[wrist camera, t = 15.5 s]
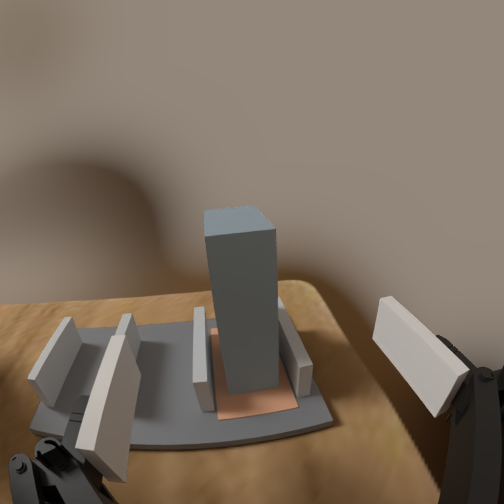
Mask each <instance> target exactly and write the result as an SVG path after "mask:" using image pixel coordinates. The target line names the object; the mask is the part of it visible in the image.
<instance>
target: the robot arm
mask: <svg viewBox="0 0 504 504" xmlns="http://www.w3.org/2000/svg"><path fill="white" fill-rule="evenodd" d="M372 339H373V340H374V341H375V342H376V344H377V345H378V346H379V347H380V349H381V350H382V351H383V352H384V354H385V355H386V356H387V357H388V358H389V360H390V361H391V362H392V363H393V365H394V366H395V367H396V368H397V370H398V371H399V372H400V373H401V375H402V376H403V377H404V379H405V380H406V381H407V382H408V384H409V385H410V386H411V387H412V389H413V390H414V391H415V393H416V394H417V395H418V396H419V398H420V399H421V400H422V402H423V403H424V404H425V406H426V407H427V408H428V409H429V411H430V412H431V413H432V415H433V416H434V417H437V416H439V415H440V414H442V413H444V412H445V411H446V410H447V409H448V407H449V406H450V404H451V403H452V404H453V405H454V408H453V409H452V411H451V412H450V414H449V415H448V417H447V419H446V422H448V420H449V419H450V417H451V416H452V419H451V421H450V422H451V432H450V441H449V449H448V456H447V463H446V469H445V475H444V480H443V484H442V489H441V493H440V498H439V502H438V504H497V503H498V496H499V488H500V499H501V504H504V366H503V368H502V369H500V370H497V371H492V370H491V369H489V368H486V367H479V368H476V367H475V366H474V365H473V364H472V363H471V362H470V361H469V360H468V359H467V358H466V357H465V356H464V355H463V354H462V353H461V352H460V351H458V349H457V348H456V347H455V346H454V347H453V345H452V344H451V343H450V342H449V341H448V340H447V339H445V338H443V337H441V336H440V335H437V336H435V335H434V334H433V333H431V332H430V331H429V330H428V329H427V328H426V327H425V326H424V325H423V324H422V323H421V322H420V321H419V320H417V319H416V318H415V317H414V316H413V315H412V314H411V313H410V312H409V311H408V310H407V309H405V308H404V307H403V306H402V305H401V304H400V303H398V302H397V301H396V300H395V299H394V298H393V297H392V296H389V297H385V298H380V302H379V308H378V313H377V318H376V324H375V328H374V333H373V338H372ZM140 379H141V373H140V371H139V368H138V366H137V363H136V361H135V358H134V356H133V353H132V351H131V348H130V345H129V343H128V340H127V337H126V335H116V336H112V337H111V339H110V342H109V344H108V347H107V349H106V352H105V355H104V357H103V360H102V363H101V365H100V368H99V371H98V374H97V377H96V380H95V382H94V385H93V388H92V391H91V394H90V396H89V395H81V396H80V397H79V398H78V399H77V400H76V402H75V403H74V405H73V408H72V411H71V414H70V417H69V422H68V423H67V426H66V429H65V433H64V436H63V439H62V443H61V442H60V441H59V440H57V439H55V438H52V437H47V438H43V439H42V440H40V441H39V442H38V443H37V445H36V446H35V451H34V454H35V458H36V459H37V460H31V459H30V458H29V457H28V456H26V455H24V454H16V455H14V456H13V457H12V458H11V459H10V461H9V466H8V469H9V478H10V486H11V493H12V499H13V504H118V502H117V501H116V500H115V499H114V497H113V496H112V495H111V493H110V492H109V491H108V489H107V488H106V487H105V485H104V484H103V483H102V477H103V476H104V477H105V478H106V479H107V480H108V481H113V482H121V483H126V476H127V466H128V457H129V449H130V441H131V433H132V426H133V420H134V413H135V407H136V401H137V395H138V390H139V384H140Z"/></svg>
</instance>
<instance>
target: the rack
mask: <svg viewBox="0 0 504 504" xmlns="http://www.w3.org/2000/svg"><path fill="white" fill-rule="evenodd" d="M116 335H126V337H127V340H128V343H129V345H130V348H131V351H132V353H133V356H134V358H135V361H136V363H137V366H138V368H139V371H140V373H141V379H140V384H139V390H138V395H137V401H136V407H135V413H134V420H133V426H132V433H131V441H130V449H147V450H181V449H202V448H216V447H226V446H235V445H243V444H250V443H257V442H263V441H269V440H274V439H279V438H284V437H289V436H294V435H298V434H303V433H307V432H311V431H315V430H319V429H322V428H326V427H330V426H332V424H333V418H332V416H331V414H330V412H329V410H328V408H327V406H326V403H325V401H324V399H323V397H322V395H321V393H320V391H319V388H318V386H317V384H316V382H315V380H314V378H313V376H312V370H313V363H312V361H311V359H310V357H309V355H308V353H307V351H306V349H305V347H304V345H303V343H302V341H301V339H300V337H299V335H298V333H297V331H296V329H295V327H294V325H293V323H292V321H291V319H290V317H289V315H288V313H287V311H286V309H285V307H284V305H283V303H282V301H281V299H280V297H278V340H279V388H273V389H268V390H262V391H256V392H250V393H243V394H236V395H229V393H228V388H227V382H226V377H225V371H224V365H223V360H222V354H221V348H220V342H219V335H218V329H217V323H216V318H214V319H206V313H205V307H196V308H194V321H186V322H175V323H164V324H151V325H137V326H136V324H135V321H134V317H133V314H132V313H130V314H123V316H122V318H121V321H120V323H119V326H118V327H102V328H78V329H77V328H76V326H75V323H74V321H73V318H72V317H65V318H64V319H63V321H62V322H61V324H60V325H59V327H58V328H57V330H56V331H55V333H54V334H53V336H52V337H51V339H50V341H49V342H48V344H47V345H46V347H45V349H44V350H43V352H42V353H41V355H40V357H39V358H38V360H37V362H36V364H35V365H34V367H33V369H32V371H31V372H30V374H29V376H28V378H27V380H28V381H29V383H30V385H31V386H32V388H33V389H34V391H35V392H36V394H37V395H38V396H39V398H40V399H41V401H40V403H39V406H38V408H37V410H36V413H35V415H34V417H33V420H32V422H31V425H30V427H29V429H30V430H31V431H32V432H33V433H34V434H37V435H41V436H45V437H52V438H55V439H59V440H62V439H63V436H64V433H65V429H66V426H67V423H68V422H69V417H70V414H71V411H72V408H73V405H74V403H75V402H76V400H77V399H78V398H79V397H80V396H81V395H89V396H90V394H91V391H92V388H93V385H94V382H95V380H96V377H97V374H98V371H99V368H100V365H101V363H102V360H103V357H104V355H105V352H106V349H107V347H108V344H109V342H110V339H111V337H112V336H116Z"/></svg>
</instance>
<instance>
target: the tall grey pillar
mask: <svg viewBox="0 0 504 504" xmlns="http://www.w3.org/2000/svg"><path fill="white" fill-rule="evenodd" d="M204 225H205V242H206V251H207V258H208V267H209V274H210V282H211V289H212V296H213V303H214V310H215V316H216V323H217V329H218V335H219V342H220V348H221V354H222V360H223V365H224V371H225V377H226V382H227V388H228V393H229V395H236V394H243V393H250V392H256V391H262V390H268V389H273V388H279V340H278V282H277V249H276V248H277V247H276V228H275V227H274V226H273V225H272V224H271V223H270V222H269V221H268V220H267V219H266V217H265V216H264V215H263V214H262V213H261V212H260V211H259V210H258V209H257V208H256V207H255V206H254V205H253V206H243V207H232V208H222V209H213V210H205V211H204Z"/></svg>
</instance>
